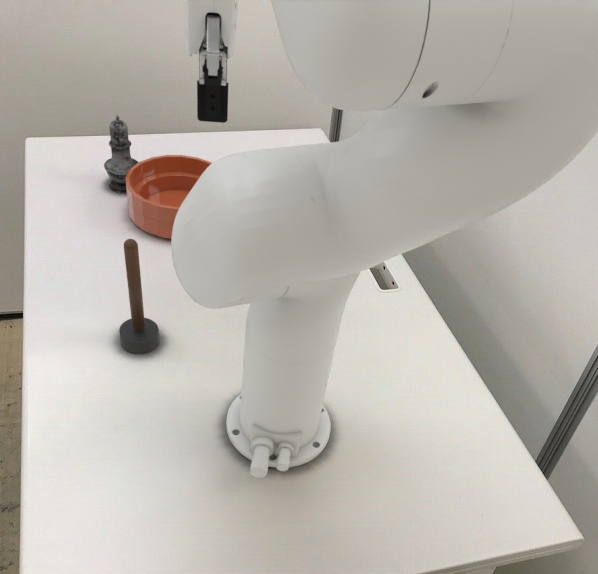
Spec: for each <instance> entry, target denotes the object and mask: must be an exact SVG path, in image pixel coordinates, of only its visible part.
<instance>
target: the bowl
mask: <svg viewBox="0 0 598 574" xmlns="http://www.w3.org/2000/svg"><path fill="white" fill-rule="evenodd" d="M138 162H139V163H137V164H136V165H134V166H133V167H132V168H130V170H129V172H128V173H127V175H126V190H127V193H126V199H127V209H128V216H129V218H130V219H131V220H132V222H133V224H134V225H135V226H137V227H138V228H140V229H141V230H143V231H144V232H146V233H149V234H151V235H154V236H155V237H156V236H157V237H159V238H166V239H172V230H173V225H174V221H175V217H176V215H177V212H178V210H179V208H180V206H181V204H182V203H183V201H184V200H185V198H186V197H187V195H188V194H189V192H190V191H191V189H192V188H193V186H194V185H195V183H196V182H197V181H198V179H199V178H200V176H201V175H202V173H203V172H204V171H205V170H206V169H207V167H208V166H209V165H211V164H212V163H213V162H212V161H209V160H206V159H203V158H201V157H196V156H190V155H184V154H164V155H157V156H153V157H149V158H146V159H143V160H141V161H138Z"/></svg>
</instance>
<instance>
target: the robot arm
mask: <svg viewBox="0 0 598 574" xmlns="http://www.w3.org/2000/svg"><path fill="white" fill-rule="evenodd" d="M270 2H271V6H272V10H273V14H274V18H275V21H276V24H277V29H278V31H279V32H278V33H279V36H280V39H281V43H282V46H283V49H284V51H285V54H286V56H287V57H286V58H287V60H288V63H289V64H290V66H291V68H292V70H293V72H294V74H295V76H296V77H297V79H298V81H299V82H300V83H301V85H302V87H303V88H304V89H305V90H306V91H307V93H308V94H309V95H310V96H311V97H313V98H314V99H316V100H317V101H319V102H320V103H322V104H324V105H326V106H329V107H330V108H334V109H336V110H340V111H346V112H378V111H380V112H379V113H378V114H377V115H376V116H374V117H373V118H372V119H370V120H369V121H368V122H367V124H366V125H364V126H363V127H362V128H361V129H360V130H358V131H357V132H356V133H354V134H352V135H351V136H349V137H346V138H345V139H342V140H339V141H338V140H337V141H331V142H321V143H311V144H302V145H292V146H282V147H272V148H263V149H254V150H247V151H242V152H236V153H233V154H228V155H225V156H224V157H221V158H219V159H217V160H215V161H213V162H212V164H211V165H209V166H208V167H207V169H206V170H205V171H204V172H203V173H202V175H201V176H200V178H199V179H198V181H197V182H196V183H195V185H194V186H193V188H192V189H191V191H190V192H189V194H188V195H187V197H186V198H185V200H184V201H183V203H182V204H181V206H180V208H179V210H178V212H177V215H176V217H175V221H174V225H173V230H172V239H171V238H170V239H171V241H170V246H171V247H170V252H171V261H172V265H173V268H174V272H175V275H176V277H177V280H178V282H179V284H180V285H181V288H182V289H183V291H184V292H185V293H186V295H188V297H189V298H190V299H191V300H192V301H194V302H195V303H196V304H198V305H199V306H201V307H203V308H206V309H209V310H210V309H212V310H220V309H225V308H231V307H236V306H237V307H238V306H243V305H248V304H249V305H248V309H247V313H246V318H245V319H246V322H245V335H244V349H243V350H244V351H243V364H242V365H243V366H242V377H241V378H242V380H241V392H240V393H239V394H238V395H237V396H236V397H235V398H234V400H232V402H231V404H230V406H229V408H228V410H227V413H226V422H225V426H226V433H227V436H228V439H229V441H230V443H231V444H232V446H233V447H234V448H235V450H237V451H238V452H239V454H240V455H242V456H243V457H245V458H247V459H248V460H249V461H250V468H249V474H250V476H252V477H254V478H256V479H264V478H266V477H267V476H268V472H269V468H275V469H276V470H278V471H279V472H287V471H288V470H290V469H289V468H294V467H299V466H302V465H304V464H307V463H309V462H311V461H312V460H314V459H315V458H317V457H318V456H319V455H320V454H321V453H322V452H323V451H324V449H325V448H326V446H327V445H328V442H329V440H330V435H331V430H332V425H331V422H332V421H331V419H330V414H329V413H328V412H329V411H328V410H327V409H326V406H325V405H324V401H325V396H326V391H327V386H328V383H329V378H330V374H331V373H330V372H331V367H332V363H333V358H334V355H335V349H336V344H337V341H338V337H339V331H340V328H341V323H342V319H343V315H344V312H345V308H346V305H347V302H348V299H349V297H350V295H351V292H352V290H353V288H354V286H355V284H356V282H357V280H358V278H359V276H360V274H361V272H363V271H367V270H369V269H371V268H373V267H376V266H378V265H380V264H382V263H384V262H386V261H388V260H390V259H392V258H395V257H397V256H400V255H402V254H405V253H407V252H410V251H413V250H415V249H417V248H420V247H423V246H425V245H428V244H430V243H431V242H434V241H435V240H437V239H439V238H442V237H445V236H447V235H449V234H451V233H454V232H457V231H459V230H461V229H464V228H466V227H469V226H471V225H473V224H475V223H478V222H480V221H483V220H485V219H487V218H489V217H491V216H493V215H495V214H497V213H499V212H501V211H503V210H505V209H507V208H508V207H511V206H513V205H514V204H516V203H517V202H519V201H521V200H522V199H525V197H527V196H529V195H531V194H532V193H533V192H535V191H536V190H538V189H539V188H541V187H542V186H544V185H545V184H546V183H548V182H549V181H550V180H551V179H553V178H554V177H555V176H557V175H558V174H560V173H561V171H562V170H563V169H565V168H566V167H567V166H568V165H569V164H571V162H572V161H573V160H574V159H575V158H577V156H578V155H579V154H580V153H581V152H582V151H583V150H584V149H585V148H586V146H588V144H589V143H591V141H592V139H593V138H594V137H595V136H596V134H597V133H598V0H270ZM238 9H239V0H184V20H185V22H184V23H185V24H184V26H185V27H184V28H185V29H184V30H185V31H184V32H185V35H184V36H185V53H186V55H188V56H189V57H192V56H193V55H198V80H196V104H197V105H196V106H197V107H196V108H197V109H196V112H197V113H196V114H197V115H196V117H197V120H198V121H200V122H209V123H222V124H223V123H224V124H225V123H227V122H228V120H229V119H228V114H229V110H228V109H229V82H228V60H229V59H231V58H232V57H233V55H234V49H235V48H234V47H235V40H236V39H235V38H236V31H237V21H238Z"/></svg>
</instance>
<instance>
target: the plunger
mask: <svg viewBox="0 0 598 574" xmlns="http://www.w3.org/2000/svg"><path fill="white" fill-rule="evenodd" d="M123 251H124V252H123V253H124V254H123V255H124V262H125V269H126V270H125V273H126V281H127V290H128V299H129V309H130V310H129V311H130V318H129V319H127V320H124V321H123V322H122V324H121V325H120V326H119V328H118V333H119V341H120V345H121V348H122V349H123V350H125V351H126V352H128V353H130V354H134V355H144V354H148V353H151V352H152V351H154V350H156V349H157V347H158V346H159V344H160V329H159V326H158V324H157V323H156V322H155V321H154V320H153V319H150V318H147V317H145V309H144V299H143V289H142V277H141V264H140V254H139V244H138V242H137V240H136V239H133V238H128V239H127V238H126V239H125V241H124V242H123Z"/></svg>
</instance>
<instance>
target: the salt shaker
mask: <svg viewBox="0 0 598 574" xmlns="http://www.w3.org/2000/svg"><path fill="white" fill-rule="evenodd" d="M108 128H109V136H110V137H109V138H110V140H109V141H108V146H109V147H110V152H111V157H110V158H109V159H107V160H106V161H105V162H104V164H103V168H104V170H105V171H106V172H107V175H108V177H109V179H110V180H109V181H108V183H107V186H108V188H109V189H110V190H111V191H113V192H115V193H119V194H127V190H126V175H127V173H128V172H129V170H130V168H132V167H133V166H134V165H136V164H137V163H139V162H140V161H138V160H136V159H135V158H133V157H132V155H131V146H132V142H131V140H129V130H128V129H129V128H128V124H127V123H126V122H125V121H124V120H122V119H121V118H120V116H119V115H118V114H117V115H116V116H115V119H114V120H112V121H111V122H110V123H109V125H108Z"/></svg>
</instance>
